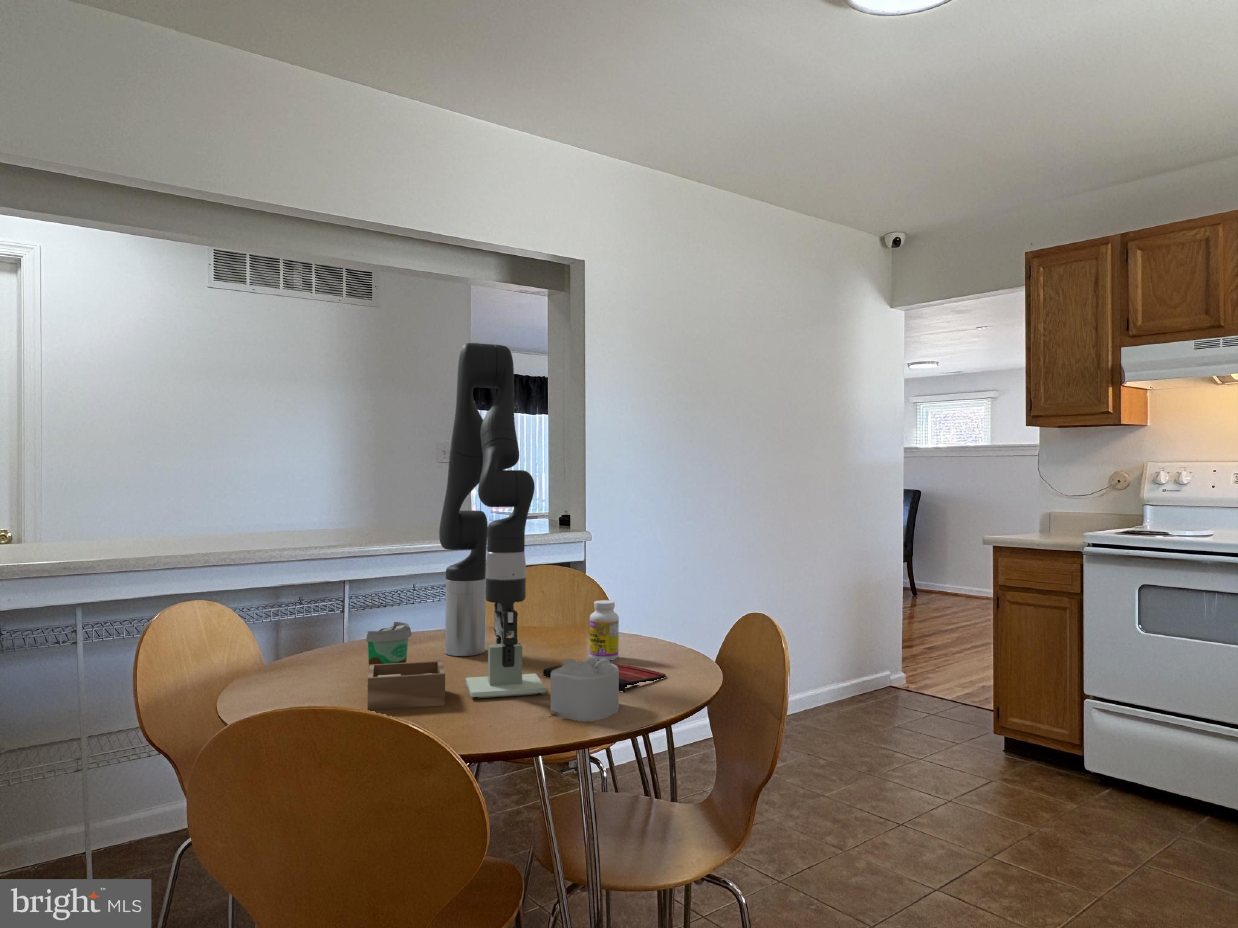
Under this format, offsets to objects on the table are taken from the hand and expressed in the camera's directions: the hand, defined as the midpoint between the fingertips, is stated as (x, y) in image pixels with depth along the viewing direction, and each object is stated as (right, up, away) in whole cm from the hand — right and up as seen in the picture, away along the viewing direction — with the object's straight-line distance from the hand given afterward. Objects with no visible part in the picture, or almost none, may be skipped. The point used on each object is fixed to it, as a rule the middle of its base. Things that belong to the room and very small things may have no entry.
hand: (505, 661), depth 153 cm
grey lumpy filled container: (+16, -6, -10) cm, 20 cm away
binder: (+19, -7, +14) cm, 25 cm away
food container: (-25, -7, +15) cm, 30 cm away
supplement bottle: (+18, -7, +32) cm, 37 cm away
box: (-17, -6, -7) cm, 19 cm away
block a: (-20, -5, -7) cm, 22 cm away
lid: (0, -6, 0) cm, 6 cm away
